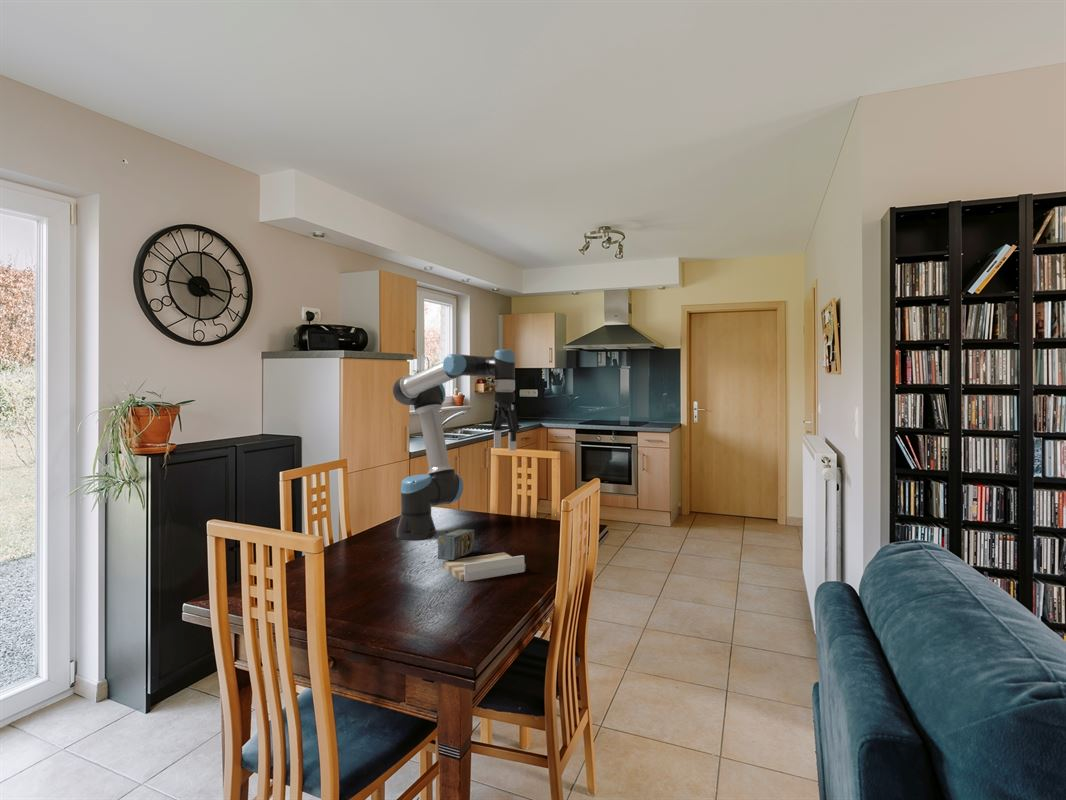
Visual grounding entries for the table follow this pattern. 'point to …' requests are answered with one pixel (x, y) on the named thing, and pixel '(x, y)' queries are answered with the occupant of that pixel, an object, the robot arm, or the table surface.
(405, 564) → the table surface
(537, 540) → the table surface
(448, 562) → the shelf board
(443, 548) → the beverage carton
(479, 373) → the robot arm
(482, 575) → the rail
